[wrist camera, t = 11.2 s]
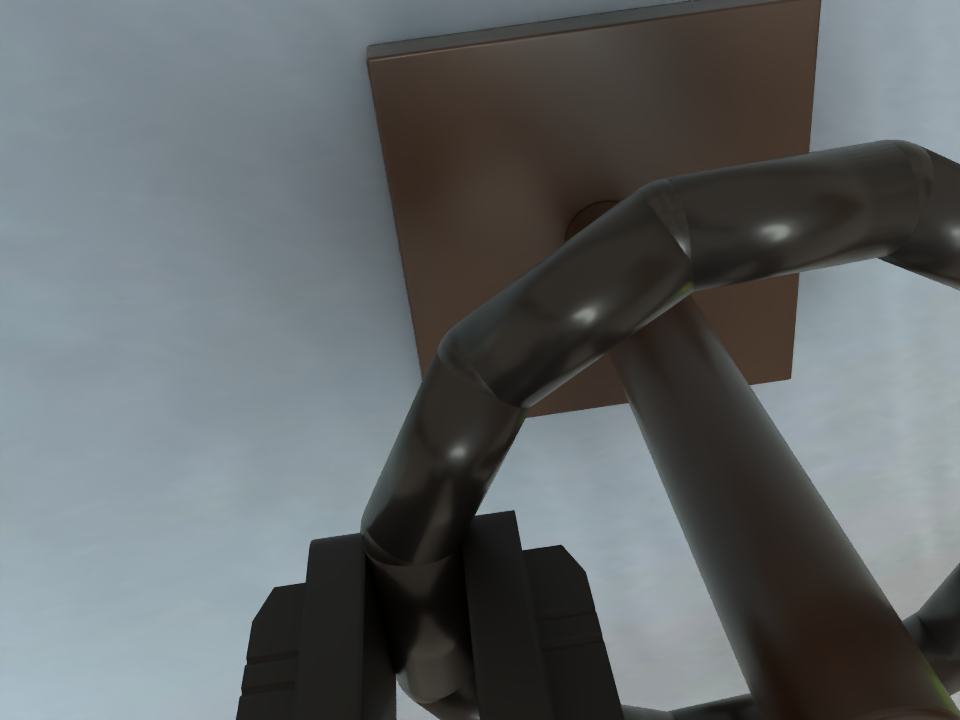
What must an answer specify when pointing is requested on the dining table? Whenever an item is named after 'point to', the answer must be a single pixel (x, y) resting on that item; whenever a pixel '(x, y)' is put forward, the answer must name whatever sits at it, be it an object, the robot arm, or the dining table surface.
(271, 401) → the dining table surface
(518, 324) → the ring
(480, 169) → the post
